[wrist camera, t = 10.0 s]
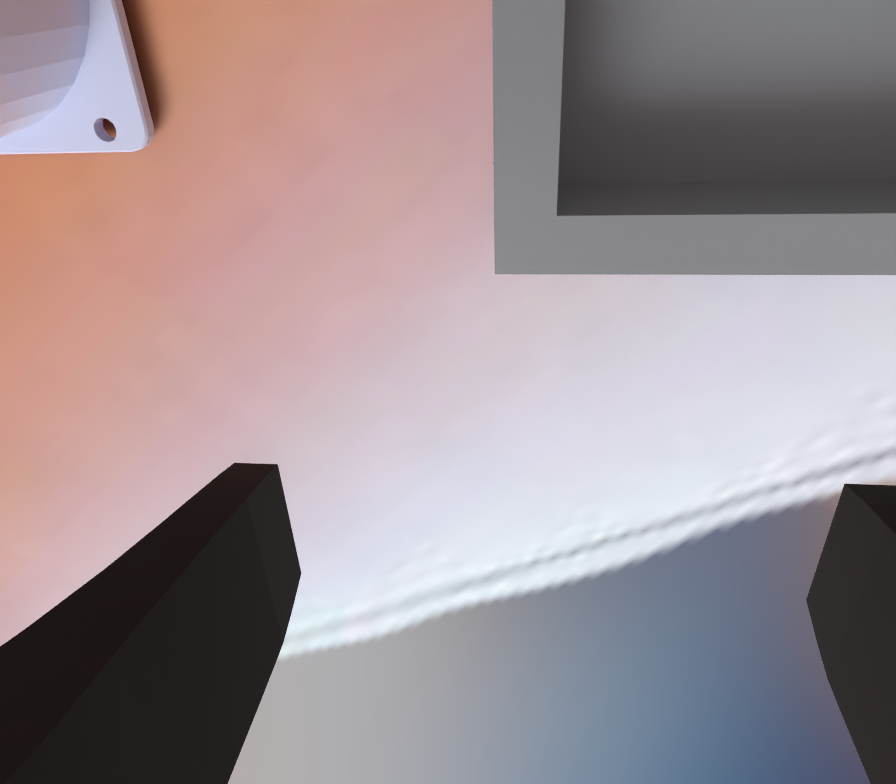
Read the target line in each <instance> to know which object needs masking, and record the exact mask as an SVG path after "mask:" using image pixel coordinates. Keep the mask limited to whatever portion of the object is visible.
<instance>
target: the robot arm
mask: <svg viewBox="0 0 896 784" xmlns="http://www.w3.org/2000/svg"><path fill="white" fill-rule="evenodd" d="M104 118H105V119H108V120H109V121H110V122H112V123H113V125H114V126H115V128H116V138H114V137H111V136H110V135H109V134H107V133H106V131H105V129H104V127H103V120H104ZM153 137H154V126H153V122H152V118H151V114H150V110H149V106H148V102H147V98H146V94H145V90H144V86H143V82H142V78H141V74H140V70H139V66H138V62H137V58H136V54H135V50H134V46H133V42H132V39H131V35H130V31H129V27H128V23H127V19H126V15H125V11H124V7H123V3H122V0H0V154H38V153H89V152H134V151H138V150H141V149H143V148H145V147H147V146H148V145H149V144H150V143H151V142H152V139H153ZM300 576H301V570H300V566H299V561H298V556H297V552H296V547H295V542H294V538H293V533H292V529H291V524H290V519H289V515H288V510H287V505H286V501H285V496H284V492H283V487H282V482H281V478H280V473H279V468H278V464H250V463H234V464H232V465H231V466H230V467H229V468H227V469H226V470H225V471H223V472H222V473H221V474H220V475H218V476H217V477H216V478H215V479H213V480H212V481H211V482H210V483H209V484H207V485H206V486H205V487H204V488H202V489H201V490H200V491H199V492H198V493H197V494H195V495H194V496H193V497H192V498H191V499H189V500H188V501H187V502H186V503H185V504H183V505H182V506H181V507H180V508H179V509H177V510H176V511H175V512H174V513H173V514H171V515H170V516H169V517H168V518H167V519H165V520H164V521H163V522H162V523H161V524H159V525H158V526H157V527H156V528H155V529H153V530H152V531H151V532H150V533H148V534H147V535H146V536H145V537H144V538H142V539H141V540H140V541H139V542H137V543H136V544H135V545H134V546H133V547H131V548H130V549H129V550H128V551H126V552H125V553H124V554H123V555H122V556H120V557H119V558H118V559H117V560H115V561H114V562H113V563H112V564H111V565H109V566H108V567H107V568H105V569H104V570H103V571H102V572H100V573H99V574H98V575H96V576H95V577H94V578H92V579H91V580H90V581H88V582H87V583H86V584H84V585H83V586H82V587H80V588H79V589H78V590H76V591H75V592H74V593H72V594H71V595H70V596H68V597H67V598H66V599H65V600H63V601H62V602H61V603H59V604H58V605H57V606H55V607H54V608H53V609H51V610H50V611H49V612H47V613H46V614H45V615H43V616H42V617H41V618H39V619H38V620H37V621H35V622H34V623H33V624H31V625H30V626H29V627H27V628H26V629H25V630H23V631H22V632H20V633H19V634H18V635H16V636H15V637H13V638H12V639H10V640H9V641H8V642H6V643H5V644H3V645H2V646H0V784H228V781H229V779H230V776H231V774H232V771H233V769H234V766H235V764H236V761H237V758H238V756H239V754H240V751H241V749H242V746H243V744H244V741H245V739H246V736H247V734H248V731H249V729H250V726H251V724H252V721H253V719H254V716H255V714H256V711H257V709H258V706H259V704H260V701H261V699H262V696H263V694H264V691H265V688H266V686H267V683H268V681H269V678H270V676H271V673H272V671H273V668H274V665H275V663H276V660H277V658H278V655H279V652H280V650H281V647H282V645H283V642H284V638H285V634H286V631H287V627H288V623H289V620H290V616H291V612H292V609H293V604H294V600H295V596H296V592H297V588H298V584H299V580H300ZM806 600H807V604H808V608H809V612H810V616H811V620H812V624H813V627H814V632H815V636H816V639H817V643H818V647H819V650H820V654H821V657H822V661H823V664H824V668H825V671H826V675H827V678H828V680H829V683H830V686H831V688H832V691H833V693H834V696H835V698H836V701H837V703H838V706H839V708H840V710H841V713H842V715H843V718H844V720H845V723H846V725H847V728H848V730H849V733H850V735H851V737H852V740H853V742H854V745H855V747H856V749H857V752H858V754H859V757H860V759H861V761H862V764H863V766H864V769H865V771H866V773H867V776H868V778H869V780H870V783H871V784H896V486H892V485H863V484H844V487H843V490H842V493H841V496H840V500H839V503H838V506H837V508H836V511H835V515H834V518H833V521H832V524H831V527H830V530H829V533H828V536H827V539H826V542H825V545H824V548H823V551H822V554H821V557H820V560H819V563H818V566H817V569H816V572H815V575H814V579H813V581H812V584H811V587H810V591H809V593H808V597H807V599H806Z"/></svg>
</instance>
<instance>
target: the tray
mask: <svg viewBox="0 0 896 784" xmlns="http://www.w3.org/2000/svg"><path fill="white" fill-rule="evenodd" d="M493 113H494V236H495V274H705V275H896V0H493Z"/></svg>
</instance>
